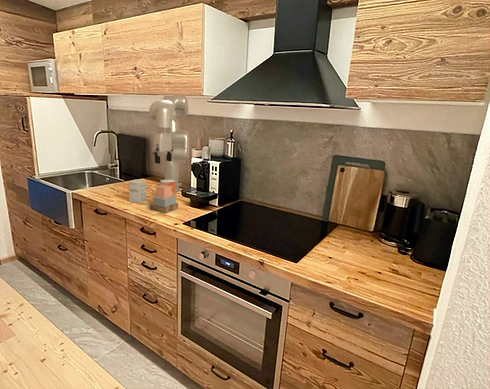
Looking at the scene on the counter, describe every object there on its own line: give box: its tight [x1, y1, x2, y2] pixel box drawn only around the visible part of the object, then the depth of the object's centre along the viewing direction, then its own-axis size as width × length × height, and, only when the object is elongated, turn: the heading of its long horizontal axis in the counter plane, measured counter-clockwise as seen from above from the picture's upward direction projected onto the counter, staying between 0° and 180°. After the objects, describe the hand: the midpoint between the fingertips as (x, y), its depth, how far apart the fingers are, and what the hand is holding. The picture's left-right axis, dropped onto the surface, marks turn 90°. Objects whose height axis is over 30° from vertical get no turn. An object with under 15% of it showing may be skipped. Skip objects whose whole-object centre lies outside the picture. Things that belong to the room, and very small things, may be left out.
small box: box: [159, 179, 177, 197], centre depth 186 cm, size 8×6×13 cm
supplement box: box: [128, 179, 147, 204], centre depth 181 cm, size 7×7×13 cm
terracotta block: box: [155, 184, 172, 199], centre depth 169 cm, size 6×6×6 cm
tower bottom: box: [149, 202, 179, 214], centre depth 171 cm, size 11×11×4 cm
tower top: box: [152, 195, 177, 207], centre depth 170 cm, size 9×9×4 cm
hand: (163, 162), depth 165 cm, fingers open, 9 cm apart
